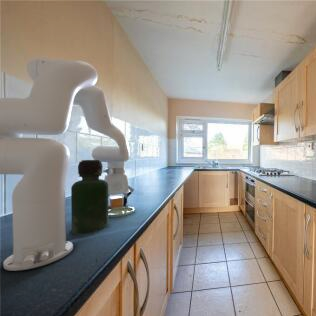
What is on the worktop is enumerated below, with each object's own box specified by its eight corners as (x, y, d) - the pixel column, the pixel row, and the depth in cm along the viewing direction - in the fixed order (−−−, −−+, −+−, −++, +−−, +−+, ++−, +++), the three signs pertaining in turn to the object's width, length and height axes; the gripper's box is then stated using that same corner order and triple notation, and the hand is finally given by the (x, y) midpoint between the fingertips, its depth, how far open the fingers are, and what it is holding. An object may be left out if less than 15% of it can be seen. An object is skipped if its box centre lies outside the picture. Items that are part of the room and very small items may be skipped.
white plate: (136, 214, 83) (136, 211, 83) (107, 219, 75) (107, 216, 75) (131, 208, 91) (131, 205, 91) (104, 212, 84) (104, 209, 83)
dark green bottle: (70, 237, 59) (70, 161, 59) (72, 227, 68) (72, 159, 67) (109, 229, 66) (109, 160, 65) (107, 221, 74) (107, 159, 73)
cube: (122, 207, 92) (122, 197, 92) (110, 209, 89) (110, 199, 88) (121, 205, 96) (121, 195, 96) (109, 206, 92) (109, 197, 92)
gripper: (94, 173, 83) (94, 212, 84) (137, 171, 94) (137, 205, 95) (93, 171, 88) (93, 208, 89) (133, 169, 100) (133, 202, 101)
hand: (116, 206), depth 92 cm, fingers open, 6 cm apart
